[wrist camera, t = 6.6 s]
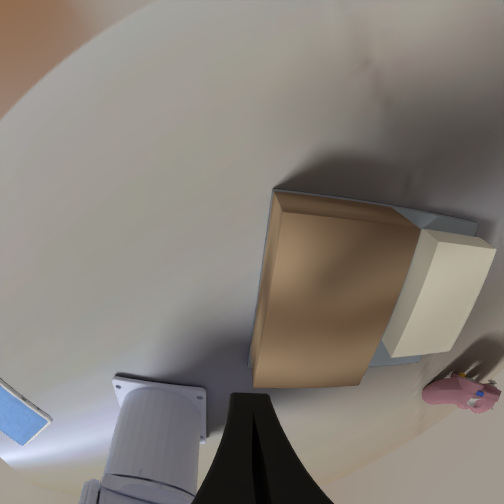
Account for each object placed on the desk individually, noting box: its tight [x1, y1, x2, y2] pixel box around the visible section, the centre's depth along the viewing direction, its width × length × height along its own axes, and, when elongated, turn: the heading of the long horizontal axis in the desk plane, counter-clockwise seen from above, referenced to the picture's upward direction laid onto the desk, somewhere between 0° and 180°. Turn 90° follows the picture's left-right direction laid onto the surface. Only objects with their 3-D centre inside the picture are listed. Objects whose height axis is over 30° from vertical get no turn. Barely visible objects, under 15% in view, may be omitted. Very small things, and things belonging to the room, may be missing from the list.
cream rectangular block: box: [382, 229, 497, 358], centre depth 18 cm, size 9×6×2 cm, turn 174°
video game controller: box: [422, 372, 501, 413], centre depth 23 cm, size 10×5×7 cm, turn 62°
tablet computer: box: [0, 379, 52, 446], centre depth 27 cm, size 19×13×1 cm, turn 133°
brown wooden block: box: [251, 191, 421, 388], centre depth 17 cm, size 11×7×4 cm, turn 174°
